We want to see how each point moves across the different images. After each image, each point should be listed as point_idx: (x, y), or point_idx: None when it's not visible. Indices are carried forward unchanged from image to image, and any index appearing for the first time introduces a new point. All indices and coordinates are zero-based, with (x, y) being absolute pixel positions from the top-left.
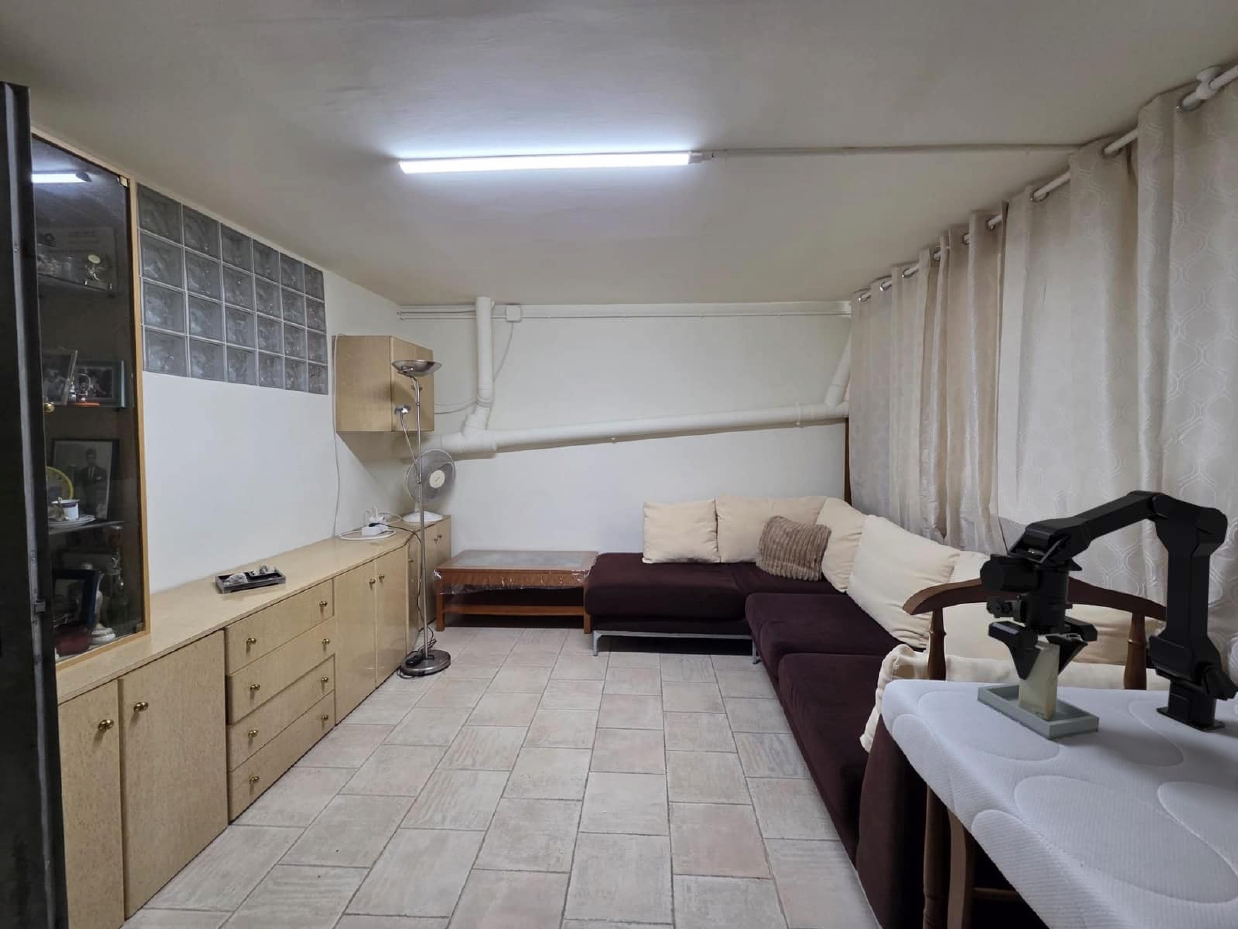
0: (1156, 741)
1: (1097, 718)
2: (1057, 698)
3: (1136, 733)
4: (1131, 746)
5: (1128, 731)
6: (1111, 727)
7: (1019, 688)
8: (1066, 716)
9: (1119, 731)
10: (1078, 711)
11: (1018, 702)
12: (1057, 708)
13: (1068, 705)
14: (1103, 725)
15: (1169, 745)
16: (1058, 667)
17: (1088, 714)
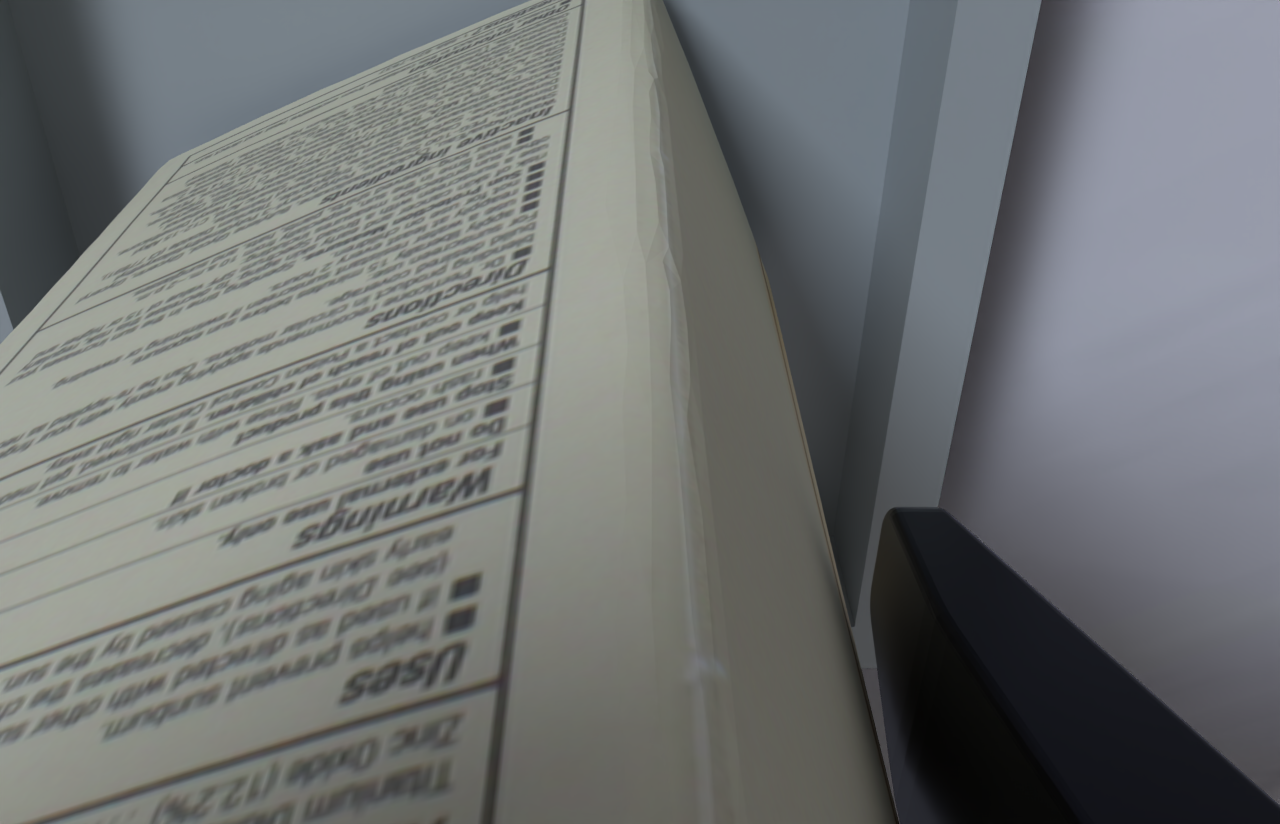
0: (1227, 726)
1: (869, 665)
2: (958, 257)
3: (1237, 629)
4: (882, 729)
5: (1209, 597)
6: (1136, 525)
7: (19, 327)
8: (806, 354)
9: (1115, 582)
10: (867, 507)
11: (124, 208)
12: (886, 226)
13: (884, 416)
14: (1103, 487)
15: (1249, 772)
16: (917, 804)
17: (855, 611)
